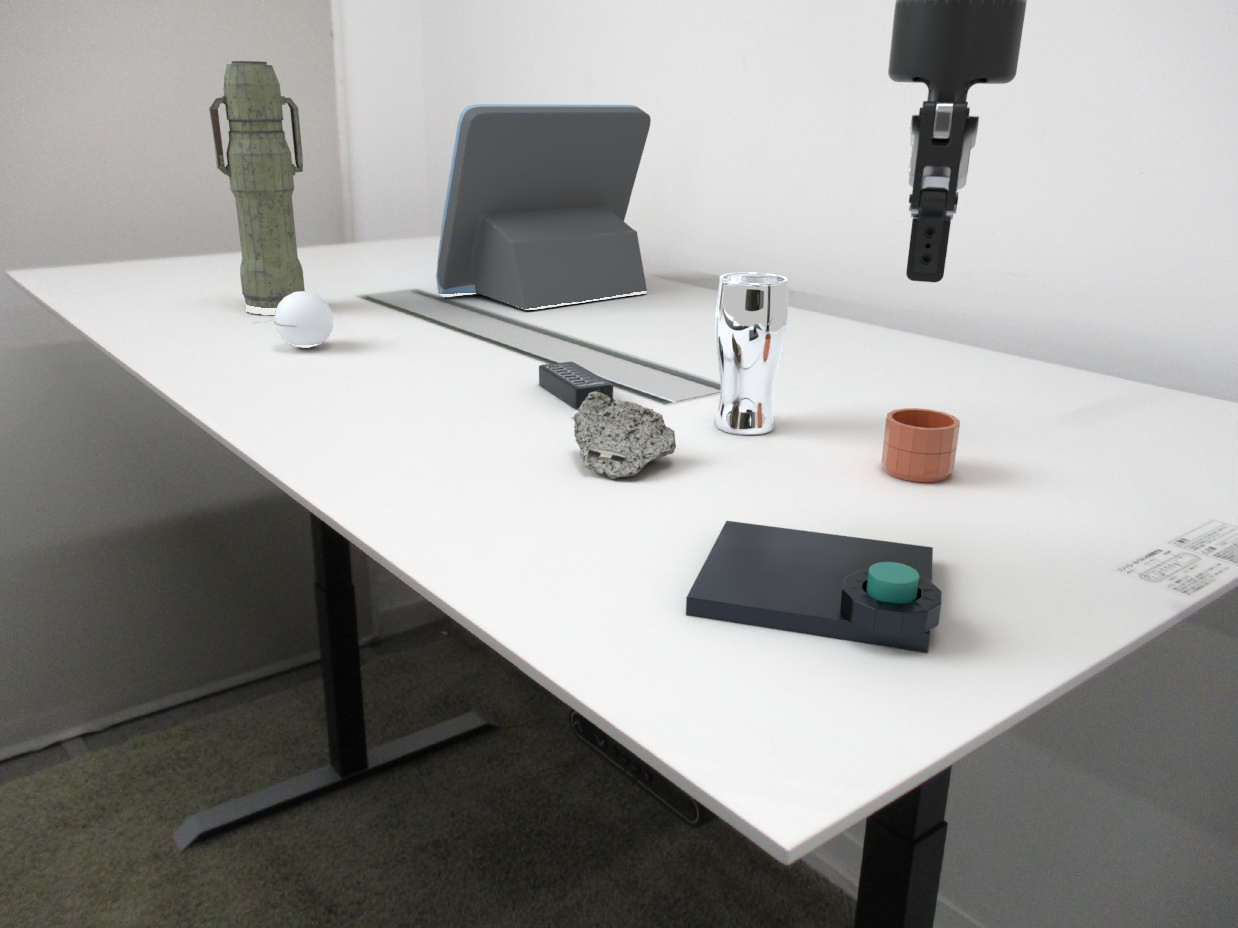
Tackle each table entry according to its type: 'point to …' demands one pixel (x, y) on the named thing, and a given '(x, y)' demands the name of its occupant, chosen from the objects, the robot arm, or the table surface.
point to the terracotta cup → (920, 444)
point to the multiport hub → (572, 382)
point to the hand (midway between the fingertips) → (926, 270)
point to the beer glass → (749, 349)
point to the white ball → (303, 319)
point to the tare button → (892, 582)
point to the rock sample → (620, 435)
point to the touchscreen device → (542, 204)
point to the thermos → (261, 180)
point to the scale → (813, 586)
